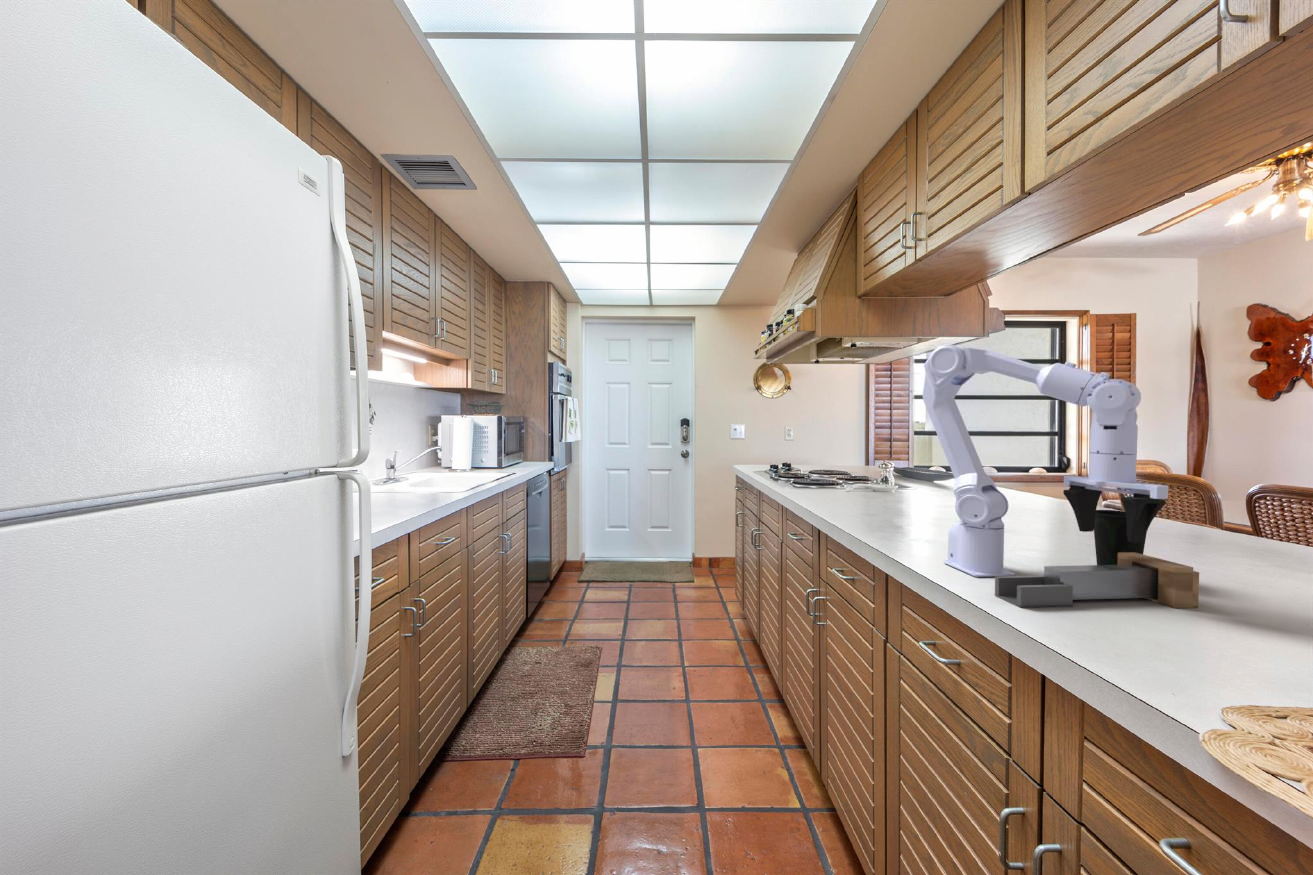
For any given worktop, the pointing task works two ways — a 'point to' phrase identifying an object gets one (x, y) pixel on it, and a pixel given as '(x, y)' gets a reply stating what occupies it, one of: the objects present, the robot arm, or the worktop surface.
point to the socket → (1169, 580)
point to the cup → (1112, 537)
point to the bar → (1106, 580)
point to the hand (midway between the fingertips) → (1109, 536)
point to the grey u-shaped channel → (1032, 592)
